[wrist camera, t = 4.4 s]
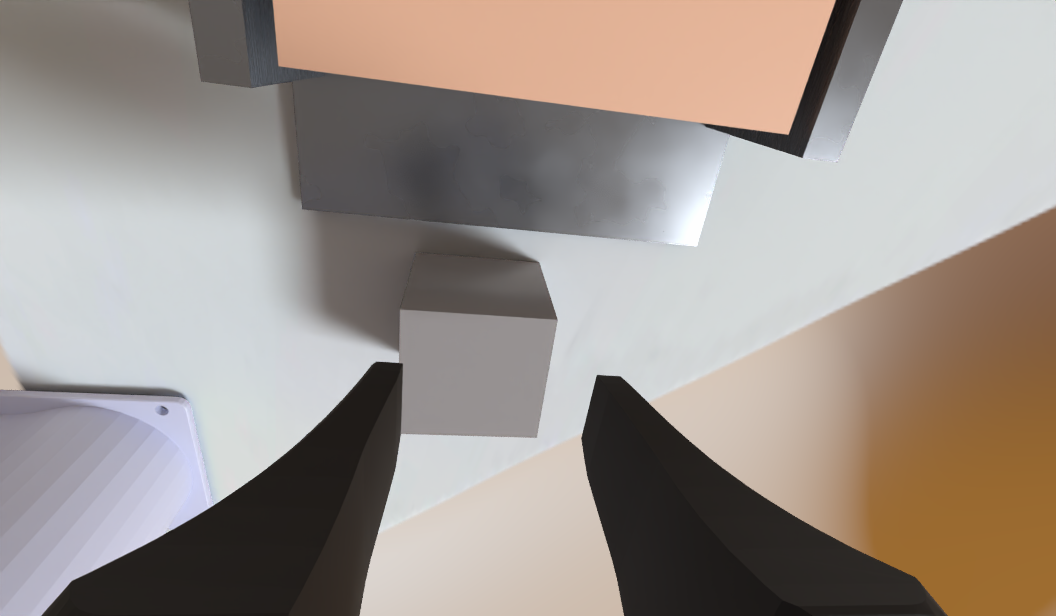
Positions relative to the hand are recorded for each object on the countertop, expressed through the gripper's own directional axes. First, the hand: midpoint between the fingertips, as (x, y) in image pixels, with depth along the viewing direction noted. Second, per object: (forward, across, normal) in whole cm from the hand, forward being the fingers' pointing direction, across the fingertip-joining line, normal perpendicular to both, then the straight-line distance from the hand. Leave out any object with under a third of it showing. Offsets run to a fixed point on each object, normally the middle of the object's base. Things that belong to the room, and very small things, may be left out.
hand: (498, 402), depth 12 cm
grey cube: (+9, 0, +2) cm, 10 cm away
